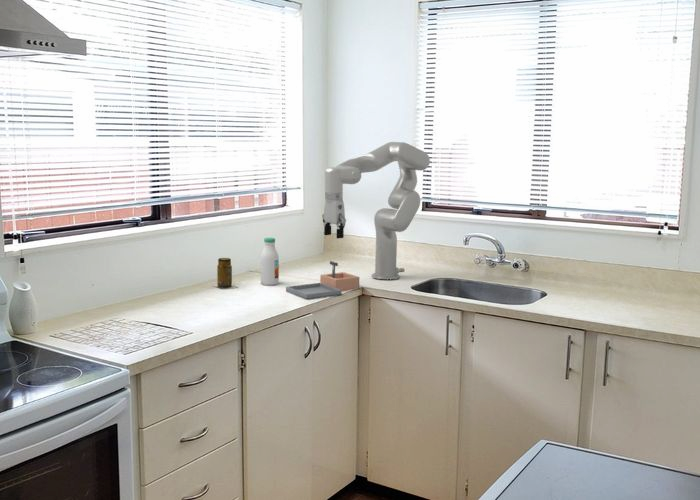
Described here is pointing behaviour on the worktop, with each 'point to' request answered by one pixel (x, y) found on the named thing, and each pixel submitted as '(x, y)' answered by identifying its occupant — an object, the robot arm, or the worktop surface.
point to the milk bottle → (269, 263)
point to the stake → (333, 268)
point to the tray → (313, 290)
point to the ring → (340, 281)
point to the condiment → (224, 274)
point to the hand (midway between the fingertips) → (333, 236)
